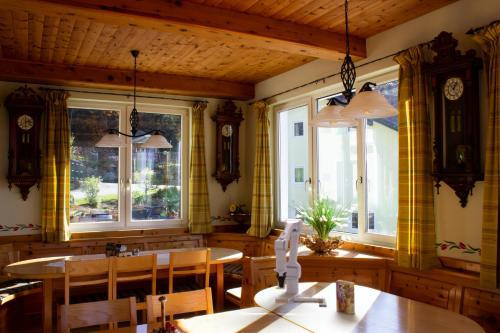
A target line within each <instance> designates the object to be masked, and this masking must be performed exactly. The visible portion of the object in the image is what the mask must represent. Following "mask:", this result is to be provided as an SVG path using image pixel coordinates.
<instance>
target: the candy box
mask: <svg viewBox="0 0 500 333" xmlns="http://www.w3.org/2000/svg"><path fill="white" fill-rule="evenodd" d="M335 296H336V298H335V299H336V303H335V304H336V308H335V310H336V311H337V312H341V313H344V314H348V315H351V314H355V313H356V311H355V310H356V309H355V282H353V281H348V280H343V279H339V280H335Z"/></svg>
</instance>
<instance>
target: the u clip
mask: <svg viewBox="0 0 500 333" xmlns="http://www.w3.org/2000/svg"><path fill="white" fill-rule="evenodd" d="M277 290H286V280H285V281H284V287H283V288H280V287H279V283H278V282H277Z"/></svg>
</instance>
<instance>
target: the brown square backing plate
mask: <svg viewBox="0 0 500 333" xmlns="http://www.w3.org/2000/svg"><path fill="white" fill-rule="evenodd" d="M274 303H275V304H289V298H275V299H274Z"/></svg>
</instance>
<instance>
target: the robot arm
mask: <svg viewBox="0 0 500 333" xmlns="http://www.w3.org/2000/svg"><path fill="white" fill-rule="evenodd" d="M303 227H304V226H303V220H302V219H301V218H286V219H285V220H284V230H283V231H282V232H280V235H279V237H278V238H277V239H275V240H274V242H273V247H274V248H273V249H274V253H275V268H274V269H273V270H274V272H276V275H275V276H276V279H277V284H278V283H279V287H280V288H283V287H284V281H285V292H286V293H287V294H292V295H294V294H299V292H300V290H299V280H300V278H301V275H302V266H301V265H300V263H299V262H298V251H299V239H300V238H299V237H300V235H301V234H302V233H303ZM289 241H290V242H289ZM289 243H290V244H289ZM288 245H289V252H288V254H289V255H288V261H287V250H288Z"/></svg>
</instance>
